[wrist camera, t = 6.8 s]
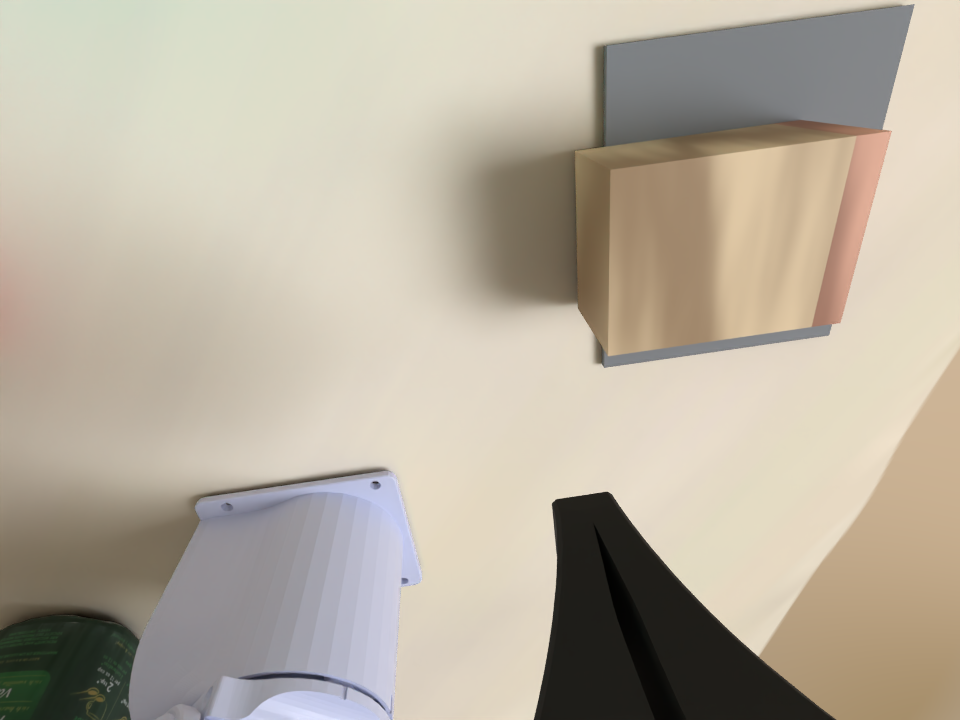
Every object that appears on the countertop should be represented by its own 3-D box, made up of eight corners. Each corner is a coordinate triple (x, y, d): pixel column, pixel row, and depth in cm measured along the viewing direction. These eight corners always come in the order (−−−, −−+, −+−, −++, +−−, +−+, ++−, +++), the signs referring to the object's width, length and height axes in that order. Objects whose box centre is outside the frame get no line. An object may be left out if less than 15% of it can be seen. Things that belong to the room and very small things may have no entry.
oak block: (608, 356, 17) (840, 322, 17) (610, 169, 14) (891, 131, 14) (578, 308, 20) (771, 281, 21) (574, 151, 18) (801, 119, 18)
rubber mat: (602, 364, 22) (604, 367, 22) (604, 45, 16) (606, 45, 16) (824, 332, 22) (829, 335, 22) (906, 5, 16) (914, 4, 16)
